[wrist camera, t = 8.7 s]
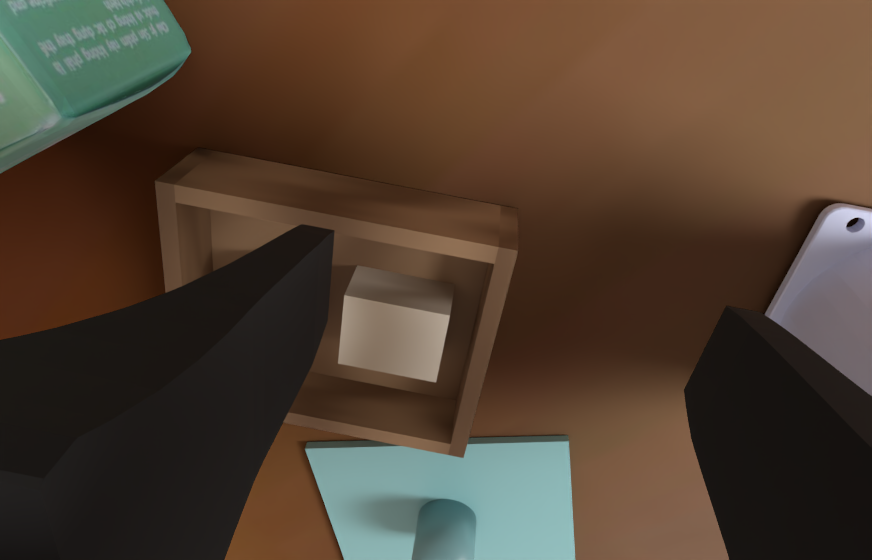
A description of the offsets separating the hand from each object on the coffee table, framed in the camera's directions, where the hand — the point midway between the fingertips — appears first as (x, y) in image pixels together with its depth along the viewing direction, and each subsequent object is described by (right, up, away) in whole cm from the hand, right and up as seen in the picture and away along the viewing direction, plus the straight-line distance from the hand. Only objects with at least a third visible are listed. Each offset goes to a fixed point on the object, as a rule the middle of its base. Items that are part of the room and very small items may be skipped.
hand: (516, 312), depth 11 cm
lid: (-1, -10, +19) cm, 22 cm away
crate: (-5, 0, +12) cm, 13 cm away
